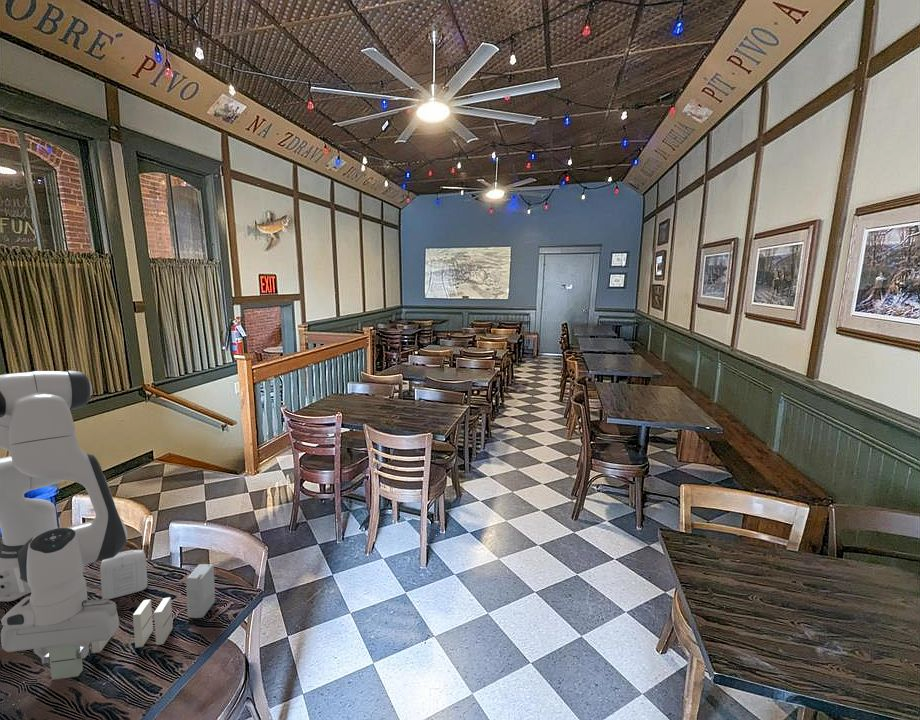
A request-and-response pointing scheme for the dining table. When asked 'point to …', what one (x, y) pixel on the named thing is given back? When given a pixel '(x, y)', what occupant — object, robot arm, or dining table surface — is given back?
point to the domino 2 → (143, 623)
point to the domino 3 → (163, 620)
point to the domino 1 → (98, 645)
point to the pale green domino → (65, 661)
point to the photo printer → (123, 574)
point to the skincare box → (200, 590)
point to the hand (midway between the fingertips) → (65, 658)
